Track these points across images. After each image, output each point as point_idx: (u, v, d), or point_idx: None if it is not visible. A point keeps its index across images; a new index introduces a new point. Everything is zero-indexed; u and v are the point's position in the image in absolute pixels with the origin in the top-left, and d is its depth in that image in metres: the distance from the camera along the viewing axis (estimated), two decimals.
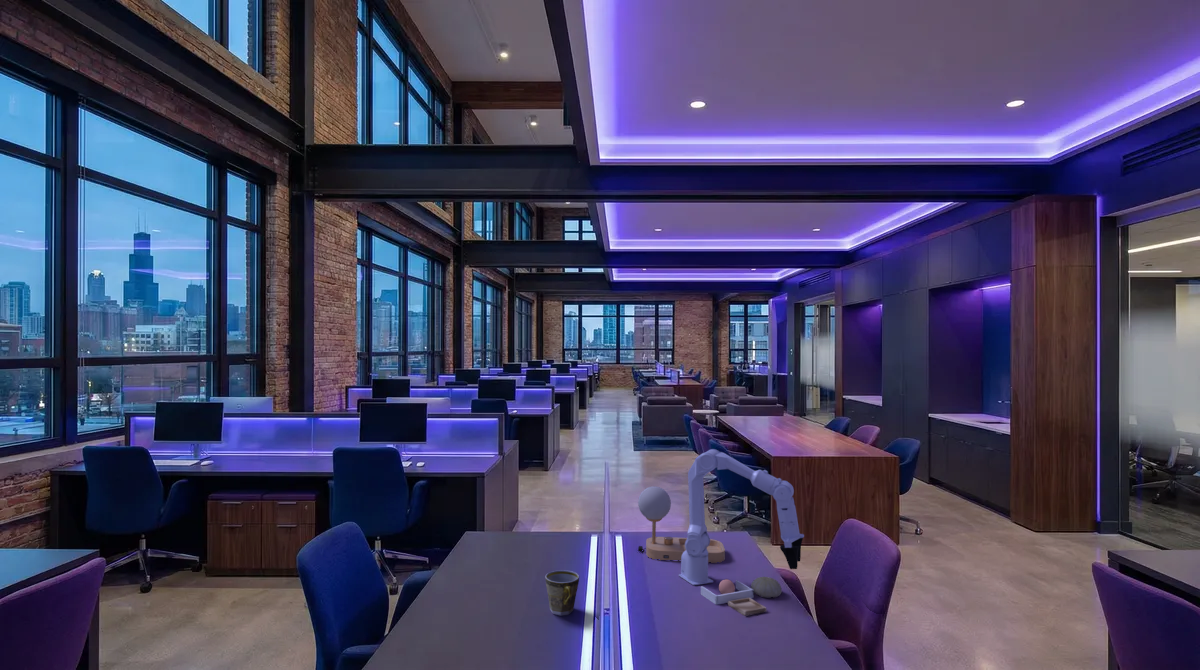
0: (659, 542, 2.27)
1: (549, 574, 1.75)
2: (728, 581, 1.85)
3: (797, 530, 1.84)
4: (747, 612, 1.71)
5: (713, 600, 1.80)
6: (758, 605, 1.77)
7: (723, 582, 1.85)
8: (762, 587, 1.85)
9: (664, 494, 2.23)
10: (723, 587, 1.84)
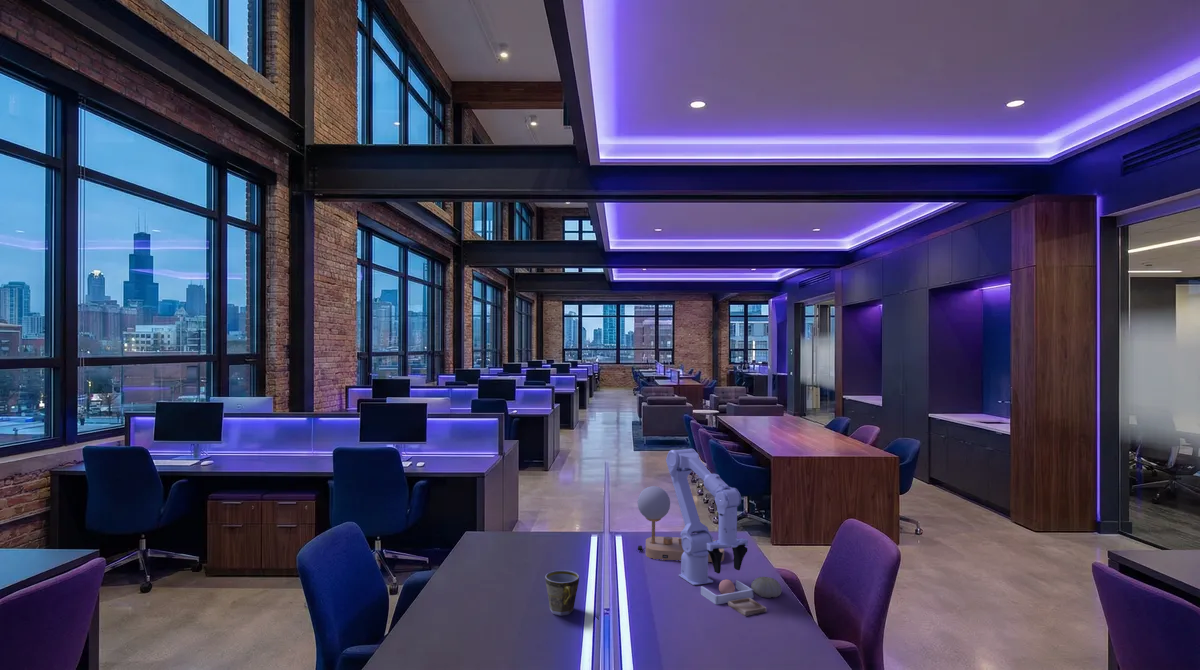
0: (658, 541, 2.27)
1: (549, 574, 1.75)
2: (728, 581, 1.85)
3: (729, 538, 1.83)
4: (747, 612, 1.71)
5: (713, 600, 1.80)
6: (758, 605, 1.77)
7: (723, 582, 1.85)
8: (762, 587, 1.85)
9: (663, 494, 2.23)
10: (723, 587, 1.84)
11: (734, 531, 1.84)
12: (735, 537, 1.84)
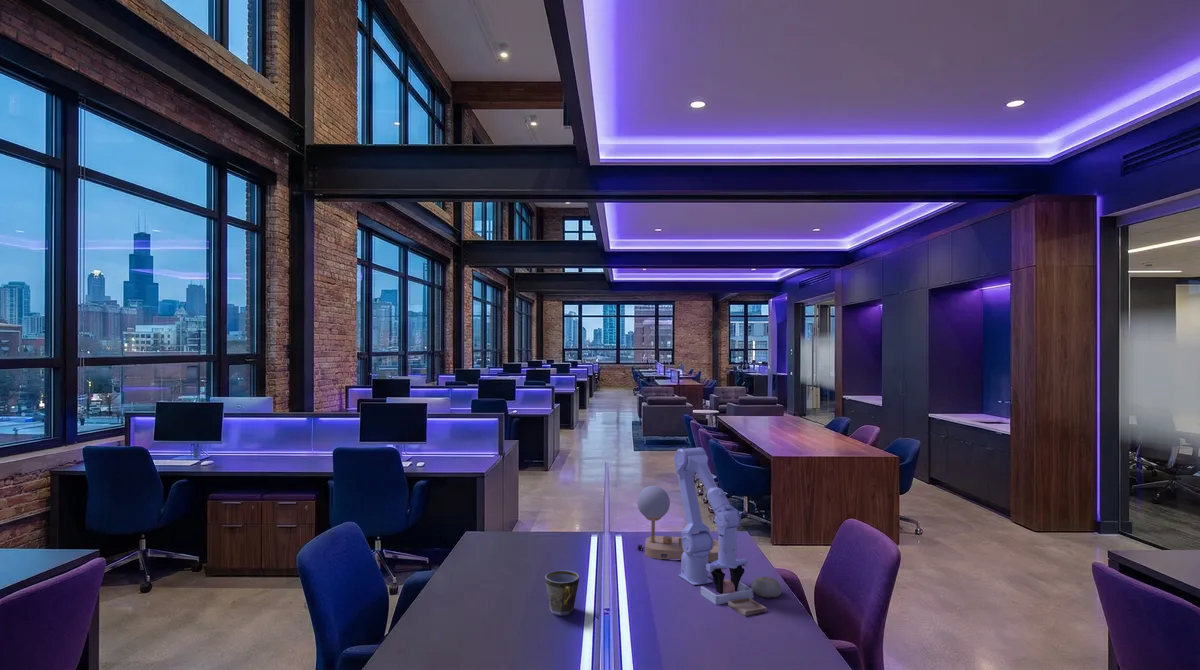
0: (658, 541, 2.28)
1: (549, 574, 1.75)
2: (728, 581, 1.85)
3: (729, 559, 1.83)
4: (747, 612, 1.71)
5: (713, 600, 1.80)
6: (758, 605, 1.77)
7: (723, 582, 1.85)
8: (762, 587, 1.85)
9: (663, 493, 2.24)
10: (723, 587, 1.84)
11: (734, 552, 1.84)
12: (735, 558, 1.84)
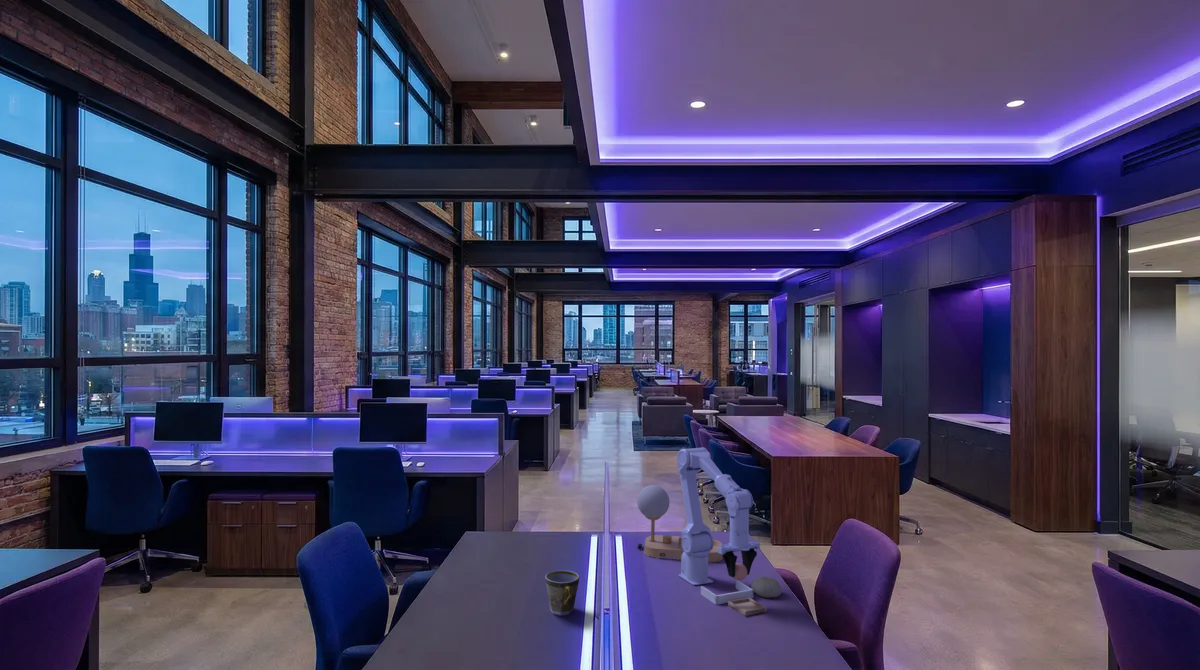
0: (658, 540, 2.29)
1: (549, 574, 1.75)
2: (740, 564, 1.80)
3: (741, 542, 1.78)
4: (747, 612, 1.71)
5: (713, 600, 1.80)
6: (758, 605, 1.77)
7: (735, 566, 1.80)
8: (762, 587, 1.85)
9: (662, 493, 2.25)
10: (735, 571, 1.78)
11: (746, 534, 1.79)
12: (747, 540, 1.79)
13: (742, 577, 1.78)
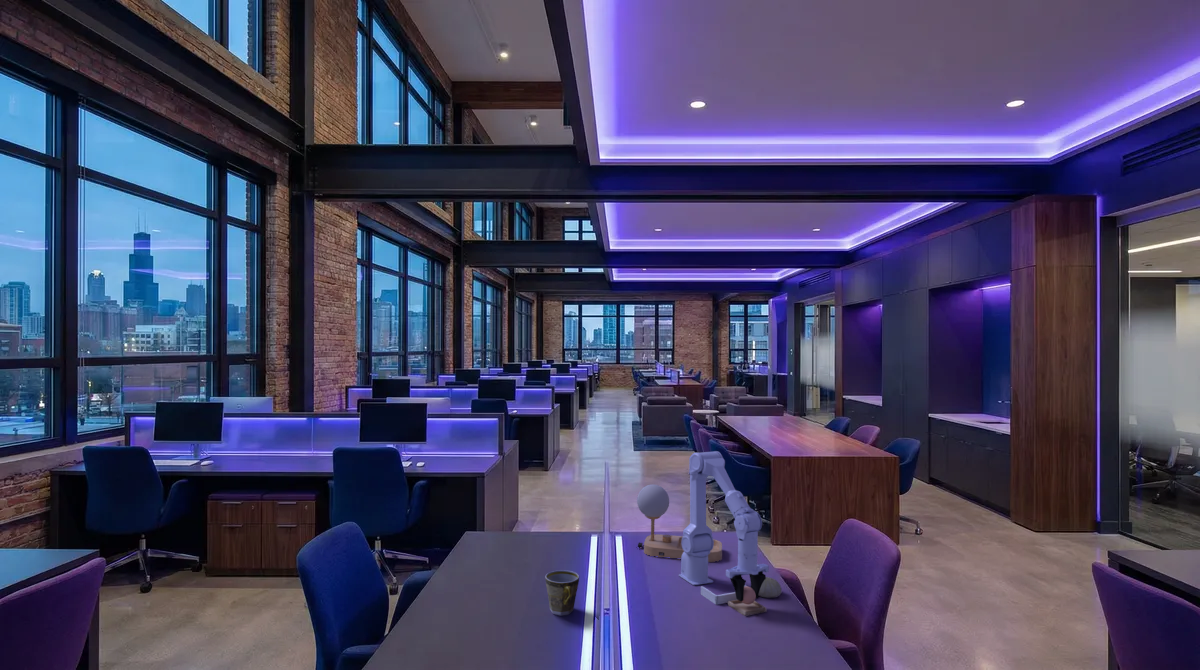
0: (658, 539, 2.30)
1: (549, 574, 1.75)
2: (749, 588, 1.76)
3: (749, 565, 1.74)
4: (747, 612, 1.71)
5: (713, 600, 1.80)
6: (758, 605, 1.77)
7: None
8: (762, 587, 1.85)
9: (662, 492, 2.26)
10: (744, 595, 1.75)
11: (755, 557, 1.75)
12: (756, 563, 1.75)
13: (750, 601, 1.74)
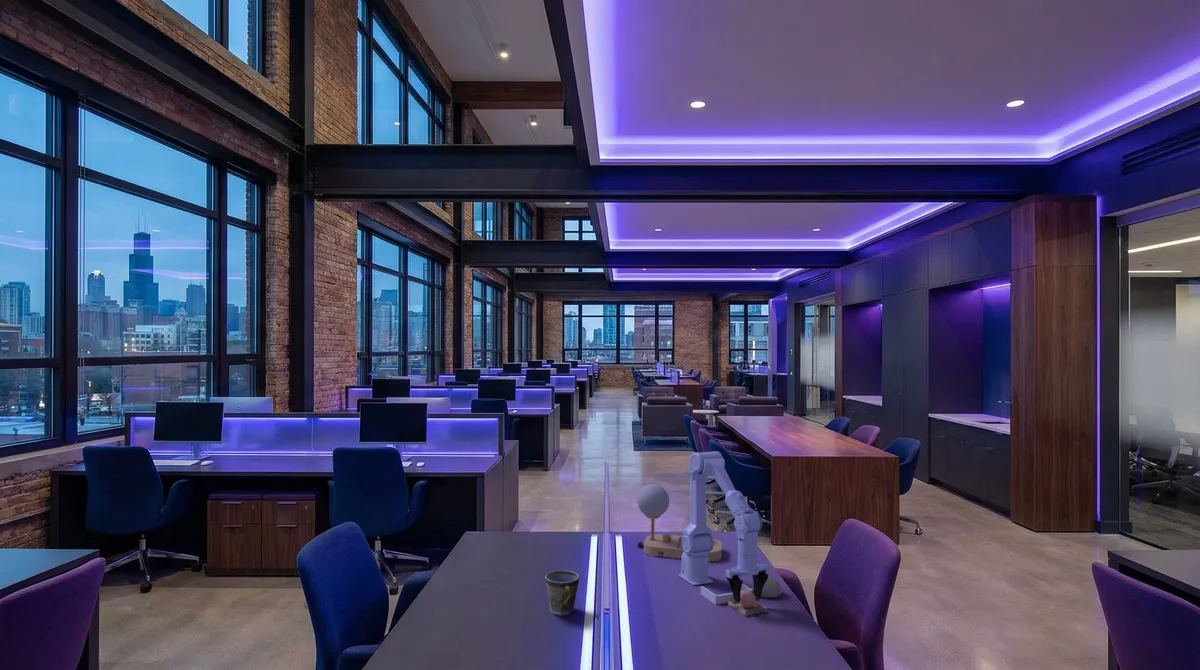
0: (658, 539, 2.31)
1: (549, 574, 1.75)
2: (748, 592, 1.76)
3: (749, 565, 1.74)
4: (747, 612, 1.71)
5: (713, 600, 1.80)
6: (758, 605, 1.77)
7: (743, 593, 1.76)
8: None
9: (661, 492, 2.27)
10: (744, 598, 1.74)
11: (755, 557, 1.75)
12: (756, 563, 1.75)
13: (750, 605, 1.74)
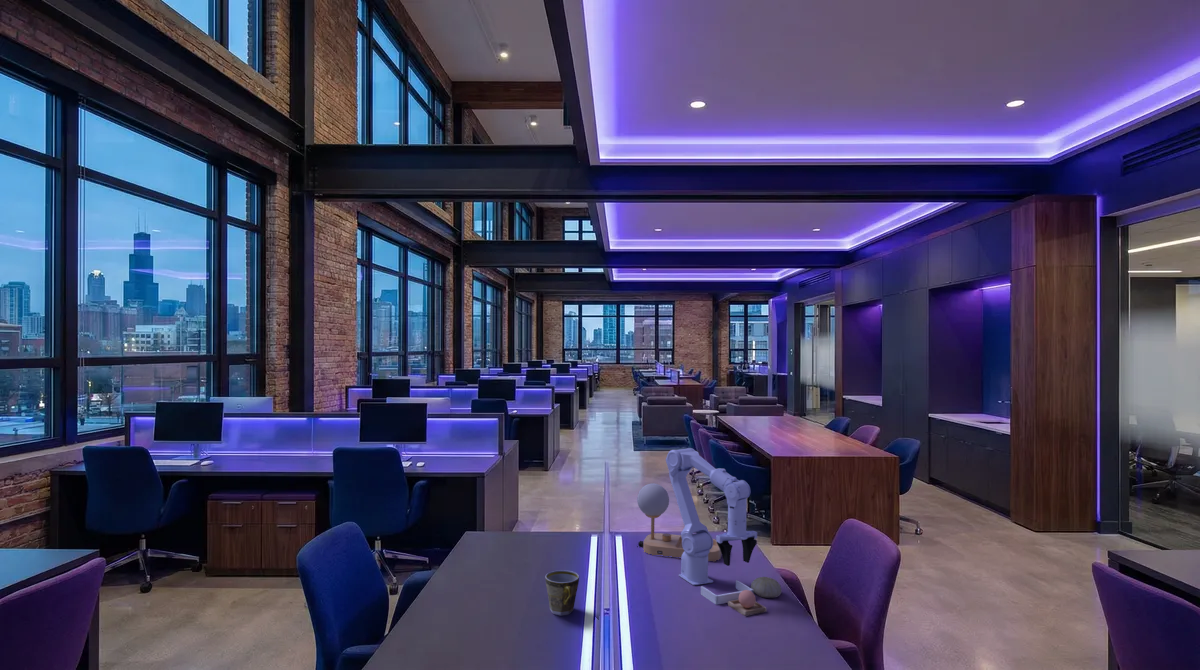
0: (658, 538, 2.32)
1: (549, 574, 1.75)
2: (748, 592, 1.76)
3: (739, 531, 1.83)
4: (747, 612, 1.71)
5: (713, 600, 1.80)
6: (758, 605, 1.77)
7: (743, 593, 1.76)
8: (762, 587, 1.85)
9: (661, 491, 2.28)
10: (744, 599, 1.74)
11: (744, 523, 1.84)
12: (745, 529, 1.84)
13: (750, 605, 1.74)
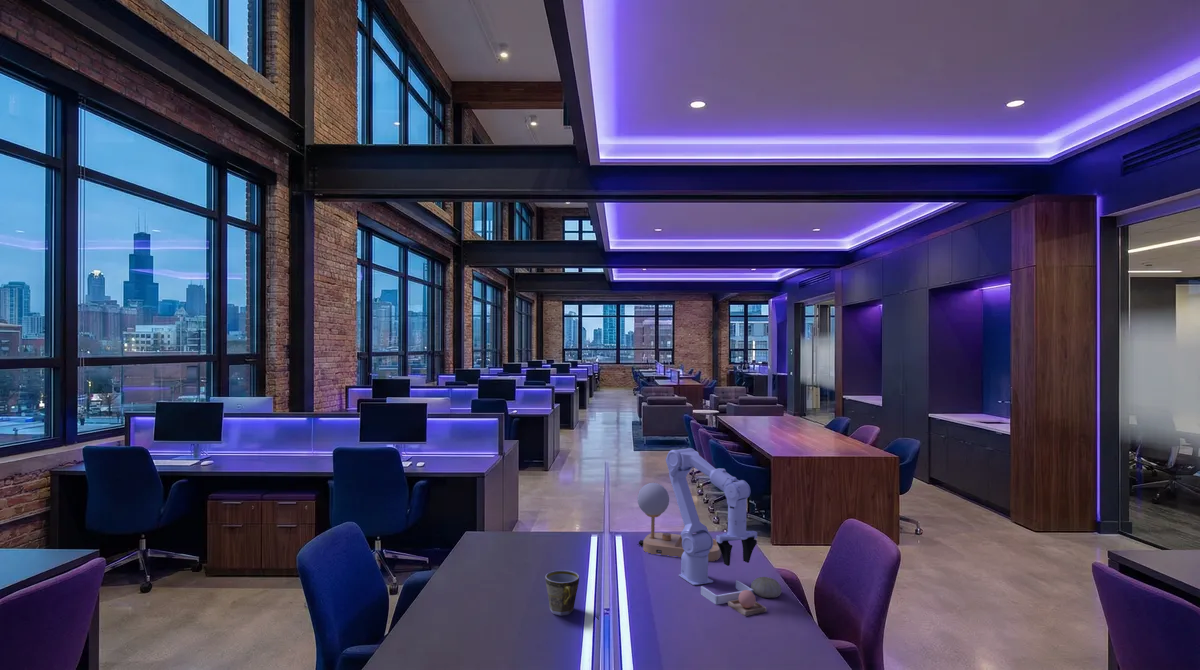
0: (659, 537, 2.33)
1: (549, 574, 1.75)
2: (748, 592, 1.75)
3: (739, 531, 1.83)
4: (747, 612, 1.71)
5: (713, 600, 1.80)
6: (758, 605, 1.77)
7: (743, 593, 1.75)
8: (762, 588, 1.85)
9: (661, 491, 2.29)
10: (743, 599, 1.74)
11: (744, 523, 1.84)
12: (745, 529, 1.84)
13: (750, 605, 1.74)
